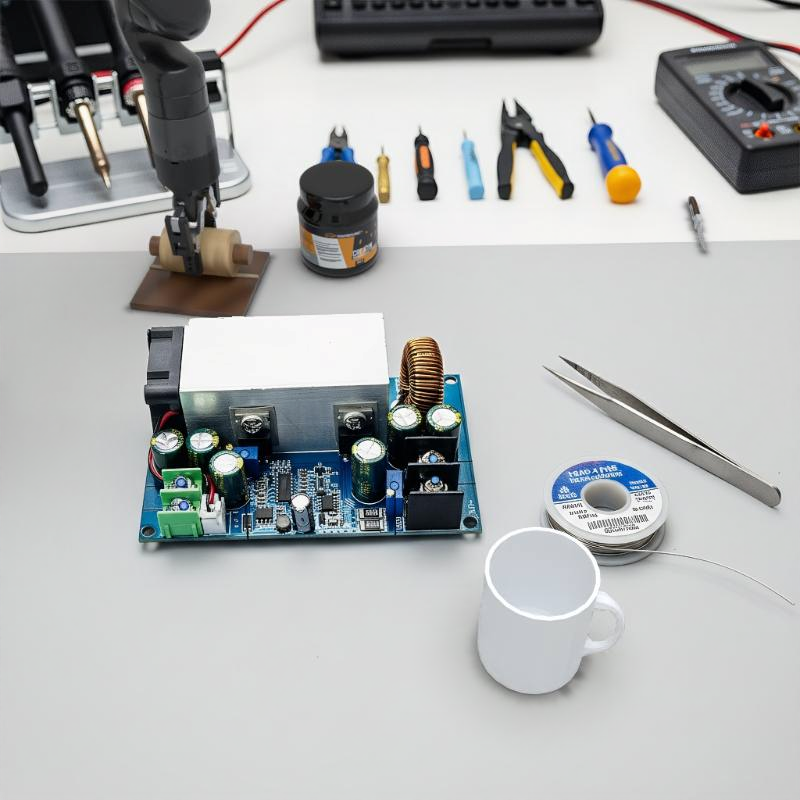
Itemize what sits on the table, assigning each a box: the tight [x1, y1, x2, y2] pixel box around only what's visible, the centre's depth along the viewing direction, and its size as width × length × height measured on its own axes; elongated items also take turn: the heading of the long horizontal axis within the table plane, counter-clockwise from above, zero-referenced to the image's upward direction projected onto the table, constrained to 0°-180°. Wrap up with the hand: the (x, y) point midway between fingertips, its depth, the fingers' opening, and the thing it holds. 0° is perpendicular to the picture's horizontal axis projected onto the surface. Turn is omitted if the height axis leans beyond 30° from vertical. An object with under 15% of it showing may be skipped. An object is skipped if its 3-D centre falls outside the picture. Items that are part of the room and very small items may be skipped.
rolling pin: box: [148, 225, 254, 277], centre depth 127 cm, size 13×6×6 cm, turn 81°
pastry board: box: [129, 250, 271, 318], centre depth 129 cm, size 15×14×1 cm
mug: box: [476, 526, 626, 695], centre depth 85 cm, size 10×12×12 cm
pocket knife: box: [687, 195, 707, 251], centre depth 139 cm, size 14×1×2 cm, turn 176°
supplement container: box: [296, 160, 380, 278], centre depth 129 cm, size 10×10×12 cm
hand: (202, 258), depth 128 cm, fingers closed on rolling pin, 6 cm apart
